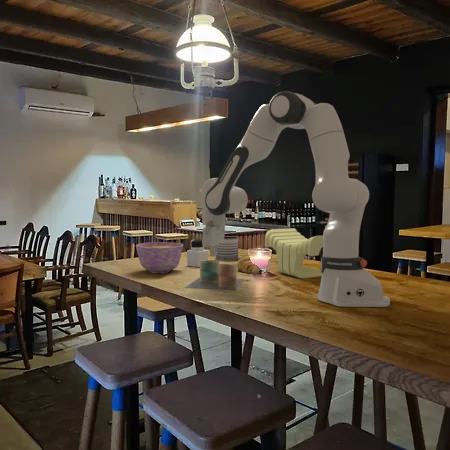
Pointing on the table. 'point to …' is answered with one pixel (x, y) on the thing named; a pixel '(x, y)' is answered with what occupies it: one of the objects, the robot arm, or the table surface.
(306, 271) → the slatted curved stool
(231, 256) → the can
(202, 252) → the medicine bottle
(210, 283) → the board
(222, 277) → the tile
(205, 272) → the tile
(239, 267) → the croissant
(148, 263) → the purple bowl
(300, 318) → the table surface
